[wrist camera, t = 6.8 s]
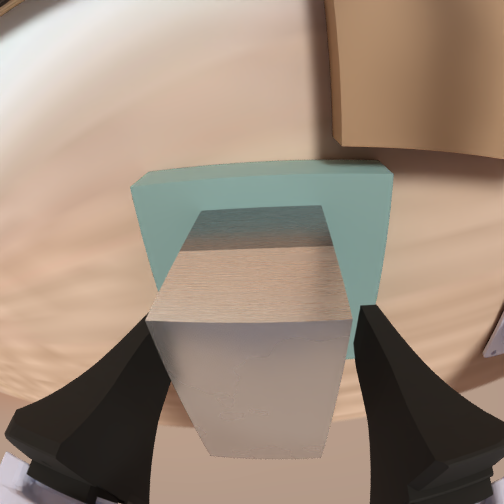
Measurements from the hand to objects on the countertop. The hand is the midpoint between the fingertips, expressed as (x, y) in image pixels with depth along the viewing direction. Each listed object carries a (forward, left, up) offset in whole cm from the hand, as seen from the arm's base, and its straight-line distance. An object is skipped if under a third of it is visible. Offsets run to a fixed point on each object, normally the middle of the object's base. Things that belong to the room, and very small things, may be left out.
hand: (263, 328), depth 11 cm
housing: (0, 0, -2) cm, 2 cm away
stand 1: (0, 0, -4) cm, 4 cm away
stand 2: (-8, -11, -4) cm, 14 cm away
